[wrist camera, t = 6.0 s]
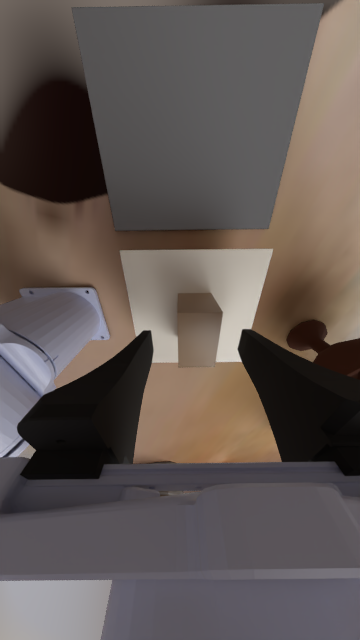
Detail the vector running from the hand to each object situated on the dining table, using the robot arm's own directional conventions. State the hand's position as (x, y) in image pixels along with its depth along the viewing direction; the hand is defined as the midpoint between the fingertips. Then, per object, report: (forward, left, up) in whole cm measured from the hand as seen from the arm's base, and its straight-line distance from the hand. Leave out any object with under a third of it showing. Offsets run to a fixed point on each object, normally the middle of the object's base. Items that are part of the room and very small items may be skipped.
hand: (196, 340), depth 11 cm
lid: (0, 0, -4) cm, 4 cm away
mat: (0, +14, -9) cm, 16 cm away
